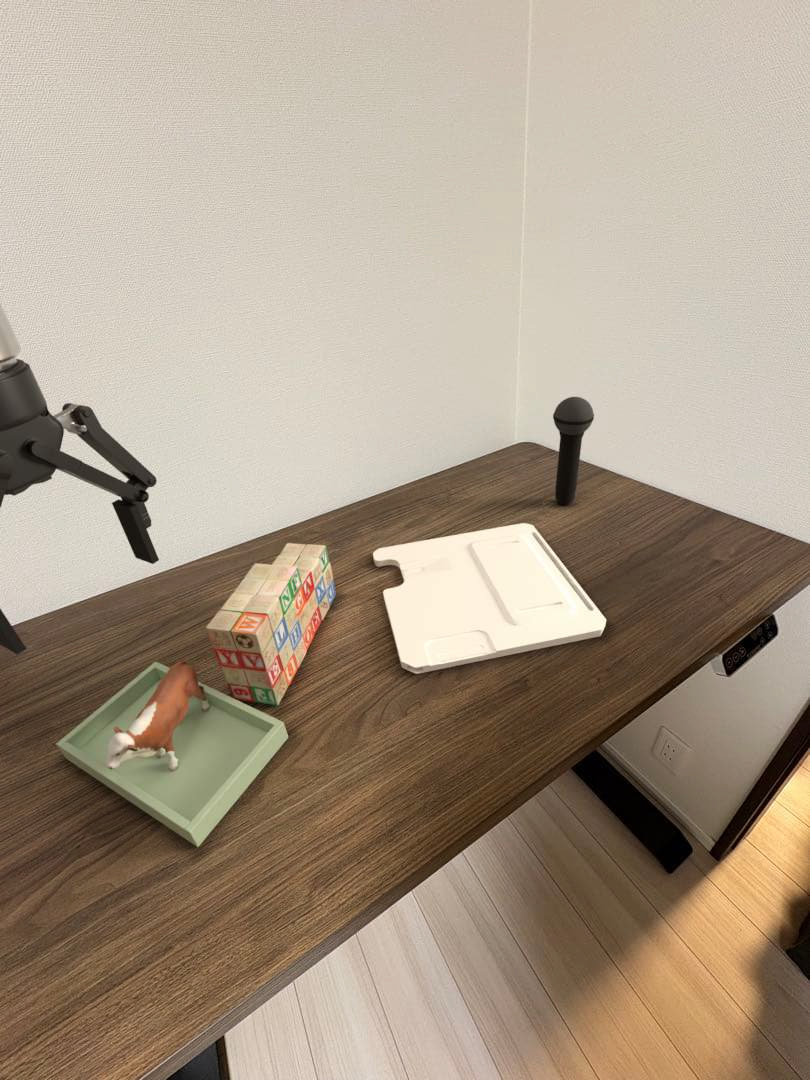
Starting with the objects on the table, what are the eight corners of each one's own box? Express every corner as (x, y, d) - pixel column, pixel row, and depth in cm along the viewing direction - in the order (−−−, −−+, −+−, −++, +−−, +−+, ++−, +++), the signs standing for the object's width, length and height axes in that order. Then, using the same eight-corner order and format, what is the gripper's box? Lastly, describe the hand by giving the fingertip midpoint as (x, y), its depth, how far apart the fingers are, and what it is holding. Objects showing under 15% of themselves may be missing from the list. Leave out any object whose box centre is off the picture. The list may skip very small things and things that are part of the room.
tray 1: (65, 758, 60) (55, 743, 59) (162, 675, 70) (155, 661, 68) (198, 847, 51) (189, 832, 49) (288, 737, 60) (284, 722, 59)
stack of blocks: (299, 591, 83) (283, 524, 76) (337, 594, 81) (324, 527, 74) (232, 700, 65) (203, 626, 59) (278, 707, 64) (255, 632, 57)
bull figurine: (121, 796, 55) (86, 751, 51) (191, 693, 66) (167, 647, 61) (157, 804, 54) (124, 758, 50) (222, 697, 65) (200, 651, 60)
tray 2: (404, 676, 66) (403, 668, 66) (372, 553, 90) (371, 546, 89) (611, 633, 70) (612, 625, 69) (528, 526, 93) (529, 518, 92)
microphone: (540, 506, 98) (548, 401, 87) (554, 491, 103) (563, 389, 92) (575, 514, 95) (588, 407, 84) (588, 498, 99) (602, 394, 88)
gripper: (-260, 444, 27) (-37, 713, 39) (146, 329, 45) (214, 538, 56) (-303, 425, 30) (-85, 679, 42) (91, 325, 48) (167, 523, 60)
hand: (86, 598), depth 49 cm, fingers open, 13 cm apart
